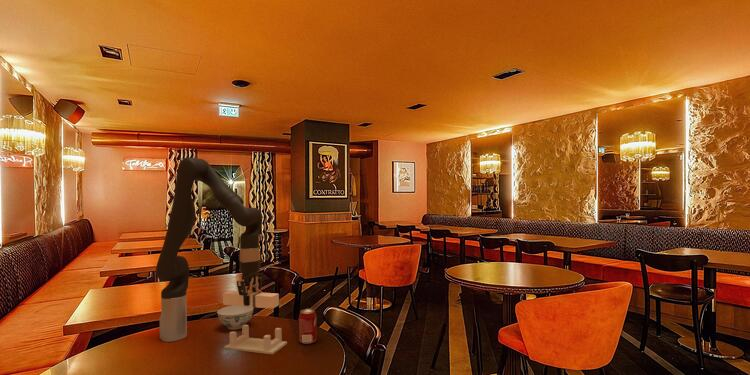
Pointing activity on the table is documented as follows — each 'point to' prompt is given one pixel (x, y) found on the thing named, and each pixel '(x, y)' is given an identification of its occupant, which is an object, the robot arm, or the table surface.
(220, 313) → the chinaware
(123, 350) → the table surface
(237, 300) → the beige bar
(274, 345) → the cream footed plank
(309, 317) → the soda can
